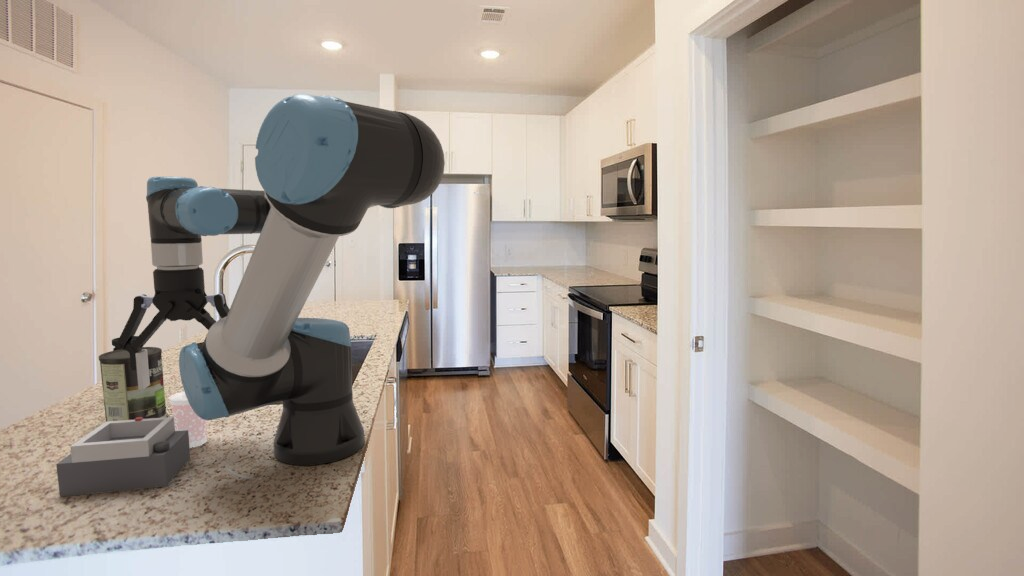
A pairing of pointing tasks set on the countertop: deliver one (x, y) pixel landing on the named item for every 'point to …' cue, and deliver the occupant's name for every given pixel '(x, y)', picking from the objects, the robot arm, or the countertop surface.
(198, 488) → the countertop surface
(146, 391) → the coffee can
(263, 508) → the countertop surface
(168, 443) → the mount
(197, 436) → the beverage cup
